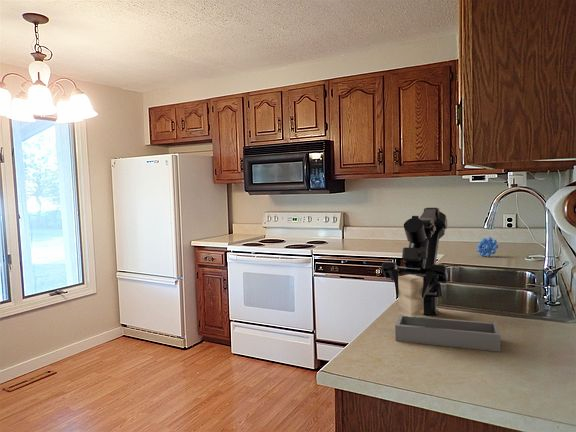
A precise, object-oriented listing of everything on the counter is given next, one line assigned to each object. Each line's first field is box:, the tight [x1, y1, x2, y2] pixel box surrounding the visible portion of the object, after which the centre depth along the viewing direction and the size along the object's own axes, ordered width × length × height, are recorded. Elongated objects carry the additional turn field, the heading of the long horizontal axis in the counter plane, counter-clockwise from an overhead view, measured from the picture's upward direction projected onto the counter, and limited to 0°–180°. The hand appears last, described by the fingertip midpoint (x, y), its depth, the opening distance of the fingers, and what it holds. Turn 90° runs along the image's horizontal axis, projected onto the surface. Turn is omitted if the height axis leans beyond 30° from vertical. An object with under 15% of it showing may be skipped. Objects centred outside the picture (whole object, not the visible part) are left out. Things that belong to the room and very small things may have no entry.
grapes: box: [476, 236, 499, 257], centre depth 247 cm, size 12×7×12 cm, turn 57°
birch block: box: [397, 274, 425, 317], centre depth 122 cm, size 5×5×11 cm
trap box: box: [394, 314, 501, 353], centre depth 119 cm, size 10×27×4 cm, turn 68°
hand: (409, 296), depth 121 cm, fingers closed on birch block, 7 cm apart
